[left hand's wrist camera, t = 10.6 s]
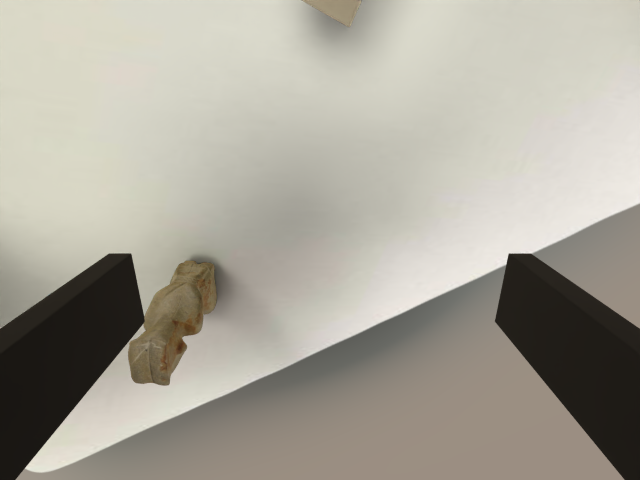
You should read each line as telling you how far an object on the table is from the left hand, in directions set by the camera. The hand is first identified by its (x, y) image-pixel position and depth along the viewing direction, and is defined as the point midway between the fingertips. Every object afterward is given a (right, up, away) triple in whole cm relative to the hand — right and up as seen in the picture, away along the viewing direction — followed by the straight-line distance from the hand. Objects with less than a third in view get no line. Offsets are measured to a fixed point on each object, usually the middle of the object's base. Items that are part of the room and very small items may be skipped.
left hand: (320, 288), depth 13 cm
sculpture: (-15, -3, +32) cm, 36 cm away
